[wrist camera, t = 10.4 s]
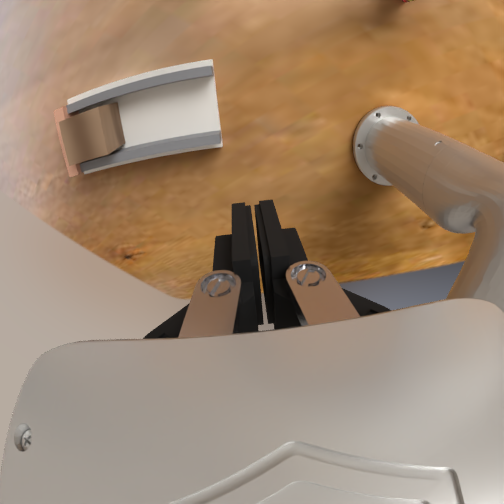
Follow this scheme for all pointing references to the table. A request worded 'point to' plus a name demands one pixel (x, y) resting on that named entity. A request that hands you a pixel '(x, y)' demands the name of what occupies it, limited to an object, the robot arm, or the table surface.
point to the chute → (154, 114)
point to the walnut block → (92, 133)
